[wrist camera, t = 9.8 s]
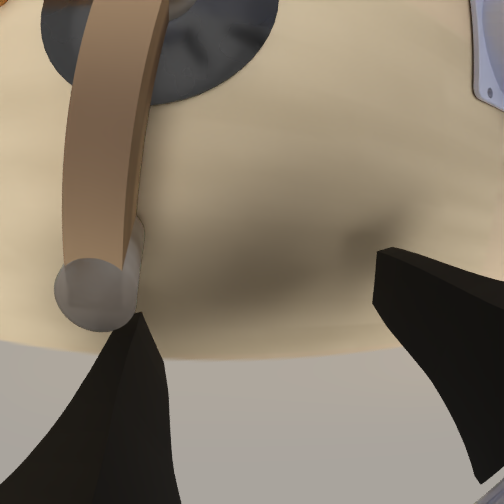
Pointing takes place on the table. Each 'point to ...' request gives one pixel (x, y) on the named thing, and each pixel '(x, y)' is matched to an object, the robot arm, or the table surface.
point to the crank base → (173, 42)
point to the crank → (108, 159)
